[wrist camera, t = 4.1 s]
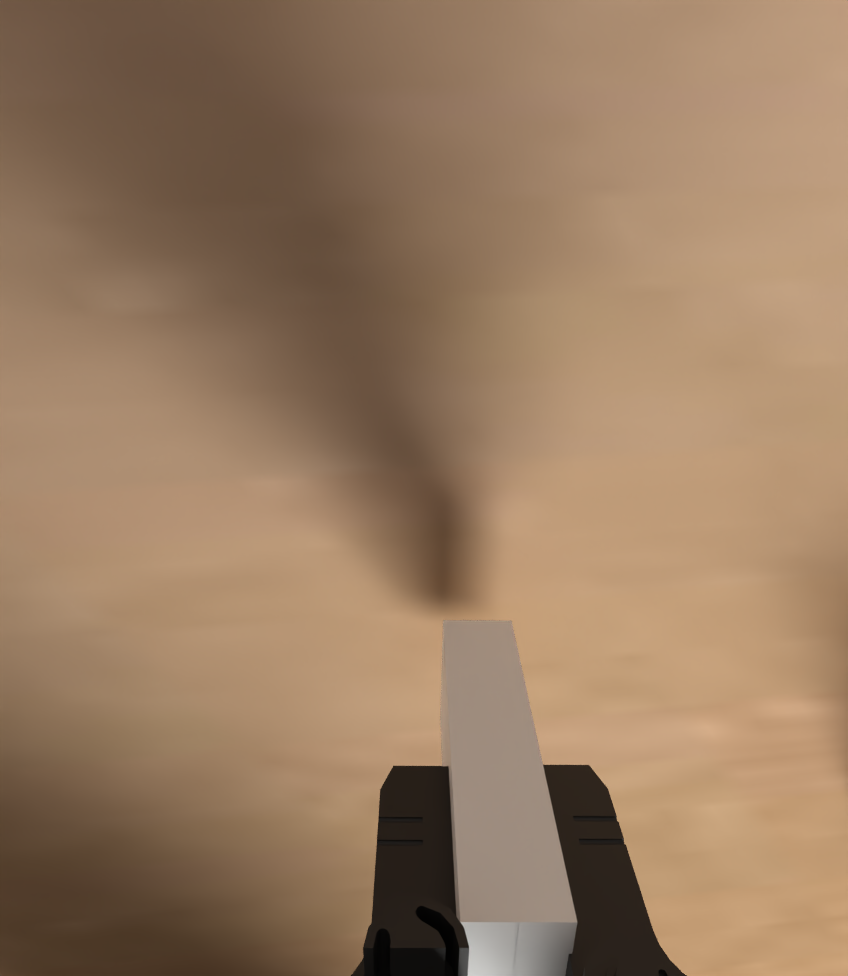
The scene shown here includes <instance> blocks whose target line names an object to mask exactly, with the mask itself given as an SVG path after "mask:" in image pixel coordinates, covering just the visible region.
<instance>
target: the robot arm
mask: <svg viewBox="0 0 848 976" xmlns="http://www.w3.org/2000/svg"><path fill="white" fill-rule="evenodd" d="M440 724H441V749H442V766H393V768H392V770H391V771H390V773H389V775H388V777H387V779H386V780H385V782H384V784H383V786H382V788H381V789H380V804H379V822H378V835H377V850H376V865H375V881H374V896H373V911H372V923H371V925H370V926H369V928H368V932H367V936H366V940H365V943H364V947H363V954H364V958H363V960H362V962H361V963H360V964H359V966H358V967H357V968H356V970H355V971H354V973H353V974H352V975H351V976H686V975H685V974H684V973H682V972H681V971H680V970H679V969H678V968H677V967H676V966H675V965H674V964H673V963H672V962H671V961H670V960H669V958H668V957H667V955H666V954H665V952H664V951H663V949H662V948H661V946H660V945H659V943H658V941H657V938H656V936H655V934H654V931H653V929H652V926H651V923H650V919H649V916H648V913H647V910H646V907H645V904H644V901H643V897H642V894H641V891H640V888H639V885H638V882H637V879H636V876H635V872H634V869H633V866H632V863H631V860H630V857H629V854H628V850H627V847H626V845H624V838H623V835H622V832H621V829H620V825H619V822H617V818H616V817H617V816H616V813H615V810H614V807H613V803H612V800H611V797H610V794H609V791H608V788H607V787H606V786H605V785H604V783H603V782H602V781H601V780H600V778H599V777H598V776H597V775H596V773H595V772H594V771H593V770H592V768H591V767H590V766H589V765H543V763H542V758H541V754H540V749H539V744H538V740H537V735H536V731H535V726H534V721H533V717H532V712H531V708H530V703H529V699H528V694H527V689H526V685H525V680H524V676H523V671H522V666H521V662H520V657H519V653H518V648H517V644H516V639H515V634H514V630H513V625H512V621H496V620H443V641H442V674H441V707H440Z"/></svg>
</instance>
